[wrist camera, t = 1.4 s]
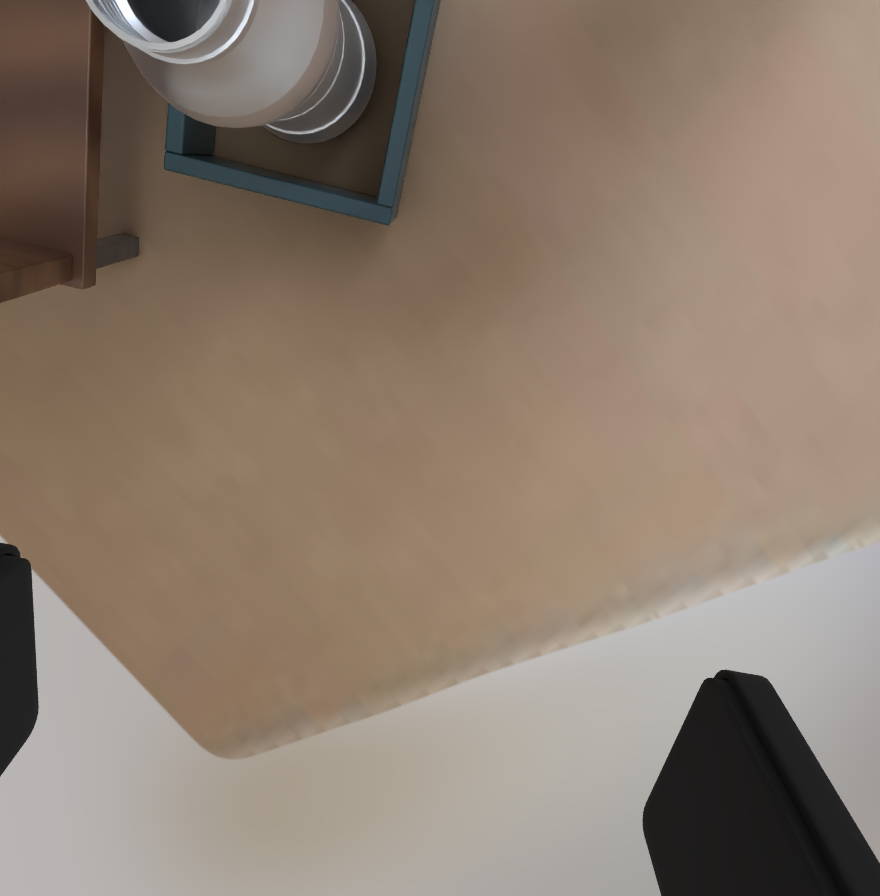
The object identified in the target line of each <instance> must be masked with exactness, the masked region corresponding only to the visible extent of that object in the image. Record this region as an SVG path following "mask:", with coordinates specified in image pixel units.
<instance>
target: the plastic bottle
mask: <svg viewBox="0 0 880 896" xmlns="http://www.w3.org/2000/svg"><path fill="white" fill-rule="evenodd" d="M86 2H87V3H88V5H89V7H90V8H91V10H92V11H93V12H94V14H95V15H96V16H97V17H98V18H99V20H100V21H101V22H102V23H103V24H104V25H105V26H106V27H107V28H108V29H110V30H111V31H112V32H113V33H114V34H116V35H117V36H118V37H119V38H120V39H122V40H123V43H124V45H125V47H126V49H127V51H128V52H129V54H130V56H131V57H132V59H133V61H134V63H135V64H136V66H137V68H138V69H139V71H140V72H141V74H142V75H143V77H144V78H145V79H146V80H147V81H148V83H149V84H150V85H151V86H152V87H153V89H154V90H155V91H156V92H157V93H158V94H159V95H160V96H161V97H162V98H163V99H165V100H166V101H167V102H168V103H169V104H171V105H172V106H173V107H174V108H175V109H177V110H179V111H180V112H182V113H184V114H186V115H188V116H189V117H191V118H193V119H195V120H197V121H201V122H204V123H207V124H210V125H213V126H218V127H228V128H247V127H255V126H263V127H264V128H266V129H267V130H268V131H269V132H271V133H273V134H275V135H276V136H278V137H280V138H282V139H285V140H288V141H291V142H295V143H305V144H310V143H319V142H323V141H326V140H329V139H332V138H335V137H336V136H338V135H340V134H341V133H343V132H345V131H346V130H347V129H348V128H349V127H350V126H351V125H353V124H354V123H355V122H356V121H357V119H358V118H359V117H360V115H361V114H362V112H363V111H364V110H365V108H366V106H367V104H368V102H369V99H370V97H371V95H372V91H373V87H374V84H375V80H376V68H377V61H376V49H375V45H374V41H373V37H372V33H371V31H370V28H369V26H368V24H367V22H366V20H365V18H364V16H363V15H362V13H361V12H360V11H359V9H358V8H357V6H356V5H355V4H354V3H353V2H352V1H351V0H86Z"/></svg>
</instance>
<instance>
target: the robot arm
mask: <svg viewBox="0 0 880 896" xmlns="http://www.w3.org/2000/svg"><path fill="white" fill-rule="evenodd" d="M35 651H36V650H35V631H34V612H33V593H32V573H31V565H30V562H29V561H28V560H27V559H25V558H21V557H20V552H19V550H18V549H17V547H15V546H13V545H10V544H4V543H0V776H1V774H2V773H3V772H4V771H5V769H6V768H7V766H8V765H9V764H10V762H11V761H12V759H13V758H14V757H15V755H16V754H17V752H18V751H19V750H20V748H21V747H22V746H23V744H24V743H25V742H26V740H27V739H28V737H29V735H30V734H31V732H32V730H33V728H34V725H35V723H36V720H37V715H38V688H37V669H36V652H35ZM643 831H644V836H645V839H646V843H647V846H648V850H649V854H650V857H651V860H652V864H653V868H654V871H655V875H656V878H657V882H658V885H659V889H660V892H661V896H880V863H879V862H878V860H877V859H876V857H875V855H874V853H873V852H872V850H871V848H870V847H869V845H868V843H867V842H866V840H865V838H864V837H863V835H862V833H861V832H860V830H859V829H858V827H857V825H856V823H855V822H854V820H853V819H852V817H851V815H850V813H849V812H848V810H847V808H846V807H845V805H844V804H843V802H842V800H841V799H840V797H839V795H838V794H837V792H836V790H835V789H834V787H833V785H832V784H831V782H830V780H829V779H828V777H827V775H826V774H825V772H824V770H823V769H822V768H821V766H820V764H819V762H818V760H817V759H816V757H815V755H814V754H813V752H812V751H811V749H810V747H809V746H808V744H807V742H806V741H805V739H804V737H803V736H802V734H801V732H800V731H799V729H798V727H797V726H796V724H795V722H794V721H793V719H792V717H791V716H790V714H789V712H788V711H787V709H786V708H785V706H784V704H783V703H782V701H781V699H780V698H779V696H778V694H777V693H776V691H775V689H774V688H773V686H772V684H771V683H770V682H769V681H768V679H766V678H764V677H763V676H759V675H753V674H747V673H741V672H735V671H730V670H721V671H719V672H718V673H717V674H716V675H715V677H714V678H707V679H706V680H704V682H703V683H702V685H701V687H700V689H699V691H698V693H697V695H696V697H695V700H694V702H693V704H692V706H691V708H690V710H689V712H688V715H687V717H686V719H685V721H684V723H683V725H682V728H681V730H680V732H679V734H678V736H677V738H676V740H675V743H674V744H673V747H672V749H671V751H670V753H669V756H668V757H667V759H666V762H665V764H664V766H663V768H662V770H661V772H660V774H659V777H658V779H657V781H656V783H655V785H654V787H653V790H652V792H651V794H650V796H649V798H648V800H647V802H646V805H645V807H644V812H643Z"/></svg>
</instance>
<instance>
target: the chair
mask: <svg viewBox="0 0 880 896" xmlns="http://www.w3.org/2000/svg"><path fill="white" fill-rule="evenodd" d="M104 26H105V25H104V24H103V23H102V22H101V21H100V20H99V18H98V17H97V16H96V15H95V14H94V12H93V11H92V10H91V8H90V7H89V5H88V3H87V2H86V0H0V303H2V302H5V301H8V300H12V299H15V298H18V297H21V296H24V295H27V294H30V293H34V292H37V291H40V290H43V289H46V288H49V287H52V286H56V285H59V284H61V285H65V286H69V287H74V288H78V289H82V290H83V289H86V288H89V287H92V286H95V284H96V269H97V268H101V267H104V266H107V265H110V264H114V263H117V262H120V261H123V260H127V259H130V258H133V257H136V256H138V244H139V238H137V237H133V236H129V235H125V234H117V235H113V236H108V237H104V238H99V239H97V228H98V199H99V170H100V141H101V113H102V84H103V55H104Z"/></svg>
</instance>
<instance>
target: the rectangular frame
mask: <svg viewBox="0 0 880 896" xmlns="http://www.w3.org/2000/svg"><path fill="white" fill-rule="evenodd" d="M439 4H440V0H415V4H414V9H413V14H412V20H411V25H410V30H409V35H408V41H407V46H406V51H405V57H404V62H403V67H402V72H401V78H400V83H399V88H398V93H397V99H396V104H395V109H394V115H393V120H392V125H391V130H390V136H389V141H388V146H387V152H386V157H385V162H384V167H383V173H382V178H381V183H380V189H379V194H378V198H377V197H373V196H369V195H365V194H361V193H358V192H354V191H350V190H346V189H342V188H338V187H334V186H330V185H326V184H322V183H318V182H314V181H310V180H306V179H302V178H298V177H294V176H290V175H286V174H282V173H278V172H274V171H271V170H267V169H263V168H259V167H255V166H251V165H247V164H243V163H239V162H235V161H231V160H227V159H223V158H219V157H215V156H211V155H213V151H214V141H215V130H216V126H213V125H210V124H207V123H204V122H201V121H197V120H195V119H193V118H191V117H189V116H188V115H186V114H184V113H182V112H180V111H179V110H177V109H175V108H174V107H173V106H172V105H171V104H169V103H168V116H167V131H166V145H165V150H166V152H165V159H164V169H165V170H168V171H172V172H176V173H180V174H184V175H188V176H192V177H196V178H200V179H204V180H208V181H212V182H216V183H220V184H224V185H228V186H232V187H236V188H240V189H244V190H248V191H252V192H256V193H260V194H264V195H268V196H272V197H276V198H280V199H284V200H288V201H292V202H296V203H300V204H304V205H308V206H312V207H317V208H321V209H325V210H329V211H333V212H337V213H341V214H345V215H349V216H353V217H357V218H361V219H365V220H369V221H373V222H377V223H381V224H385V225H390V224H391V223H392V222H393V220H394V219H395V218H396V217H397V212H398V207H399V202H400V197H401V192H402V187H403V182H404V177H405V172H406V167H407V162H408V157H409V152H410V147H411V142H412V137H413V133H414V128H415V123H416V118H417V113H418V108H419V103H420V98H421V93H422V88H423V83H424V78H425V73H426V68H427V63H428V58H429V53H430V48H431V43H432V38H433V33H434V28H435V24H436V19H437V14H438V9H439Z"/></svg>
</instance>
